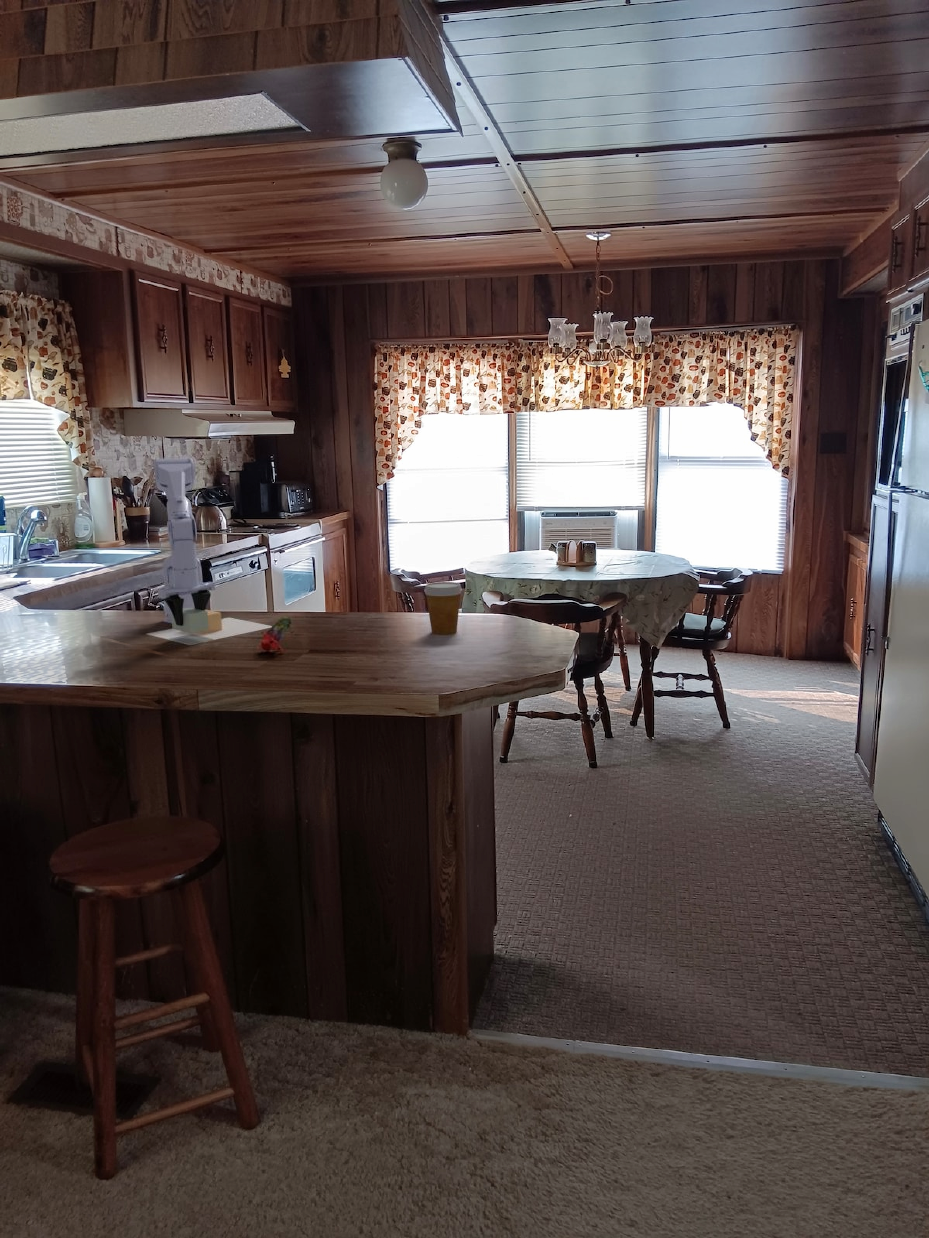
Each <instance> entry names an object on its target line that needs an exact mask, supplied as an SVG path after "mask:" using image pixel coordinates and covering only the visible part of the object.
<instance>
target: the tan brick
mask: <svg viewBox="0 0 929 1238" xmlns="http://www.w3.org/2000/svg"><path fill="white" fill-rule="evenodd" d="M205 611H207V613H208V626H209V629H208V630H203V631H199V632H201V633H210V632H215V631H219V630H222V621H221V619H222V612H220V611H215V610H214V611H213V610H210V609H205Z"/></svg>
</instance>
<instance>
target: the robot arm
mask: <svg viewBox="0 0 929 1238" xmlns="http://www.w3.org/2000/svg"><path fill="white" fill-rule="evenodd" d="M153 471H154V480H155V486H156V487H157V490H159V491H162V492H163V493H164V494H165V496H166V498H167V502H166V509H167V511H166V513H167V520H168V521H167V523H166V524H167V525H166V526H167V538H168V542H169V547H170V551H171V554H170V555H169V556H168V557H167V558H165V559H164V560H163V563H162V566H163V567H162V572H163V583H164V588H162V589H157V597H158V599H161V600H163V602H164V603H163V604H164V613H165V620H164V619H163V622H165V623H169V624H172V616H171V612H172V614H173V616H174V619H175V622H176V625H179V626H183V609H185V608H193V609H198V610H203V611H205V610H207V605H208V602H209V601H210V599H211V596H212V594H211V592H212V591H215V590H216V584H215V581H214V582H213V581H207V582H203V572H202V571H203V570H202V565H201V560H200V559H199V557H197V543H196V542H197V538H198V535H197V534H198V533H197V522H196V519H195V517H194V515H193V510H192V504H191V501H190V499H189V498H188V497H186V495H187V492H188V491H190V490H192V489H194V485H195V477H196V474H195V473H196V472H195V464H194V459H193V458H192V457H190V456H189V457H176V458H174V457H173V458H158V457H156V458H154V459H153ZM210 591H211V592H210Z"/></svg>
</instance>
